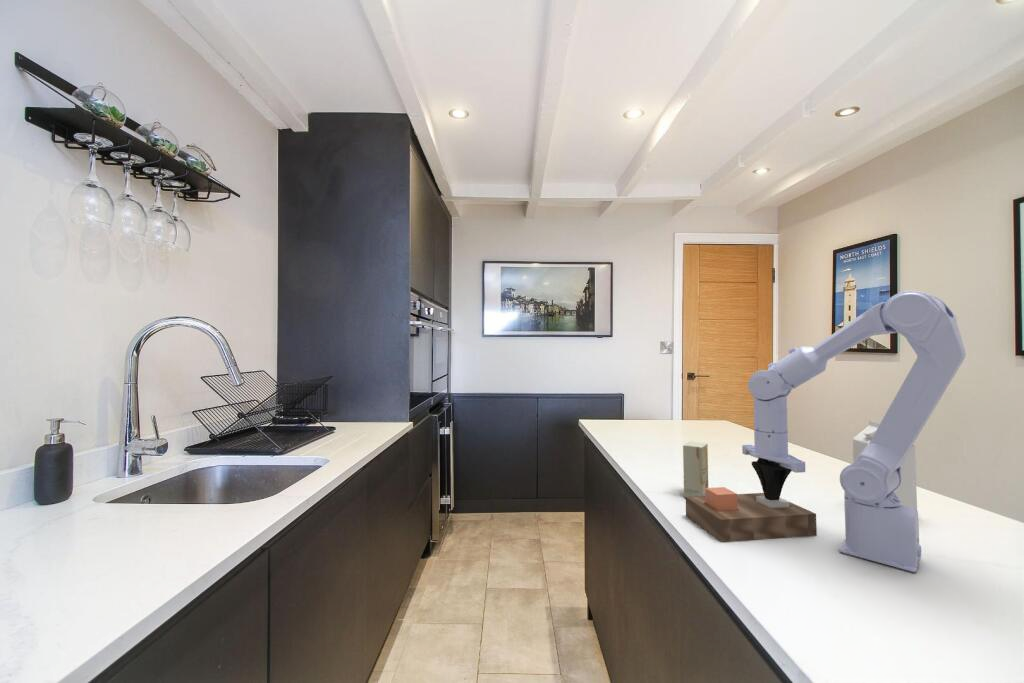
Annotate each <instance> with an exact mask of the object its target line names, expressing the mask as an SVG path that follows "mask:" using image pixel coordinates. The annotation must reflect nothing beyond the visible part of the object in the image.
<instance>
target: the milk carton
mask: <svg viewBox="0 0 1024 683" xmlns="http://www.w3.org/2000/svg"><path fill="white" fill-rule="evenodd" d="M880 423H881V422H878V421H875V420H868V426H866V427H865V428H864V429H863V430H862V431H860V432H859V433H858V434H857V435H855V436H854V437H853V438H852V449H853V450H852V452H853V453H852V454H853V456H852V457H853V458H852V460H853V463H854V462H855V461H856V460H857V458H858V456H859V455H860V453H861V452H862V451H863V450H864V448H865V447H866V446H867V445H868V444H869V442H870V441H871V439H872V437H873V435H874V434H875V432H876V430H877V428H878V427H879V425H880ZM916 465H917V464H916V446H915V444H913V445H912V447H911V448H910V450H909V452H908V453H907V456H906V460H905V463H904V464H903V466H902V468H901V477H902V481H901V484H900V486H899V487H898V488H897V489H896V490H894V493H895V494H896V496H897V497H898V499H899V500H900V504H901V505H903V506H906V507H910V508H914V509H917V510H918V495H917V490H918V489H917V468H916V467H917V466H916Z"/></svg>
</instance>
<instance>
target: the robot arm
mask: <svg viewBox="0 0 1024 683" xmlns="http://www.w3.org/2000/svg"><path fill="white" fill-rule="evenodd" d="M897 333H898V334H900V335H901V336H903V337H904V338H905V339H906V341H907V342H908V344H909V345H910V347H911V348H912V350H913V351H914V352H915V354H916V359H915V361H914V363H913V365H912V366H911V368H910V370H909V371H908V374H907V375H906V377H905V378H904V380H903V382H902V385H901V386H900V388H899V390H898V391H897V393H896V395H895V396H894V398H893V400H892V402H891V403H890V405H889V408H887V410H886V412H885V414H884V416H883V418H882V420H881V421H880V422H879V423H880V425H879V427H878V428H877V430H876V432H875V434H874V435H873V437H872V439H871V441H870V442H869V444H868V445H867V446H866V447H865V448H864V450H863V451H862V452H861V453H860V455H859V456H858V458H857V460H856V461H855V462H854V461H853V463H851V464H849V465H847V466H845V467H844V468H843V469H842V470H841V471H840V474H839V483H840V486H841V488H842V490H843V491H844V493H843V495H844V497H843V498H844V526H845V528H844V529H845V530H844V531H845V539H844V540H843V542H842V543H841V545H840V546H839V548H838V551H839V552H840V553H843V554H847V555H849V556H853V557H857V558H861V559H864V560H869V561H871V562H876V563H879V564H883V565H886V566H890V567H893V568H897V569H901V570H904V571H908V572H911V573H917V571H918V568H919V563H920V559H921V558H922V545H921V544H920V525H919V522H920V521H919V520H920V519H919V511H918V508H917V509H914V508H910V507H906V506H903V505H901V504H900V500H899V499H898V497H897V496H896V494H895V493H894V490H896V489H897V488H898V487H899V486H900V484H901V481H902V477H901V468H902V466H903V464H904V463H905V460H906V456H907V453H908V452H909V450H910V448H911V447H912V445H914V444H915V442H916V440H917V439H918V437H919V435H920V433H921V432H922V430H923V429H924V427H925V426H926V423H928V420H929V418H930V417H931V415H932V414H933V412H934V410H935V408H936V407H937V405H938V404H939V401H940V400H941V398H942V397H943V396H944V394H945V393H946V390H947V389H948V387H949V385H950V384H951V382H952V380H953V378H954V377H955V375H956V374H957V372H958V370H959V369H960V367H961V365H962V363H963V362H964V360H965V358H966V355H967V353H966V350H965V349H966V348H965V346H964V342H963V339H962V336H961V333H960V330H959V325H958V321H957V315H956V314H955V313H954V311H952V310H951V308H950V307H949V306H948V305H947V304H946V302H945V301H943V300H941V298H939V297H936V296H934V295H931V294H928V293H926V292H923V291H919V290H905V291H904V290H903V291H901V292H898V293H895V294H894V295H892V296H890V297H889V298H888V299H887V301H882V302H879V303H878V304H875V305H873V306H871V308H869V309H867V310H866V311H864V312H863V313H861V314H859V316H857V317H855V318H854V319H852V320H851V321H850V322H848V323H846V324H845V325H844V326H842V327H841V328H839V329H838V330H837V331H835V332H834V333H832V334H831V335H829V336H828V337H826V338H824V339H823V340H822V341H820V342H819V343H818V344H816V345H814V346H812V347H811V346H806V345H803V346H799V347H792V348H790V349H789V350H788V353H789V354H787V355H786V356H784V357H783V358H781V359H780V360H778V361H776V362H771V363H769V364H768V365H767V370H766V369H760V370H756V371H755V372H754V373H753V374H752V375H751V376H750V377H749V380H748V382H747V383H748V384H747V387H748V390H749V392H750V394H751V395H752V396H753V430H754V431H753V432H754V436H753V437H754V438H753V439H754V441H753V442H754V445H752V444H742V445H741V446H742V447H741V448H742V450H741V451H742V455H745V456H751V457H753V458H756V459H757V460H754V461H752V462H751V466H752V468H753V469H754V471H755V473H756V475H757V477H758V478H759V479H758V480H759V482H760V485H761V489H762V491H763V492H762V493H764V496H765V498H766V499H768V500H779V498H781V494H782V490H783V487H784V485H785V482H786V480H787V478H788V477H789V475H790V474H791V472H793V473H797V474H798V473H806V461H804V460H801V459H799V458H797V457H795V456H793V455H792V454H790V453H789V441H788V440H789V437H788V436H789V435H788V434H789V433H788V430H789V429H788V427H789V426H788V404H787V400H788V399H787V397H788V396H789V394H790V393H792V390H793V389H796V388H798V387H799V386H802V385H803V384H805V383H806V382H808V381H810V380H812V379H813V378H815V377H818V375H820V374H822V373H824V372H825V371H826V369H827V363H828V361H829V360H831V359H833V358H834V357H837V356H838V355H840V354H842V353H844V352H845V351H847V350H849V349H851V348H853V347H855V346H857V345H858V344H860V343H862V342H864V341H865V340H868V339H869V338H871V337H874V336H878V335H888V334H897Z"/></svg>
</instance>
